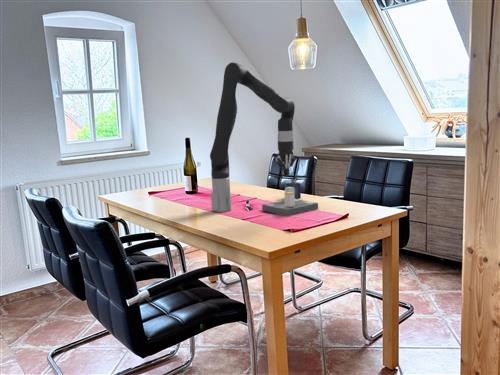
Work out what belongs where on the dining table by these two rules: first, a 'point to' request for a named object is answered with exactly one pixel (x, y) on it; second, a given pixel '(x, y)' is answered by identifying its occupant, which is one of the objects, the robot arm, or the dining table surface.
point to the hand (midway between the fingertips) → (286, 175)
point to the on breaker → (289, 190)
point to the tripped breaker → (289, 199)
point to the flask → (296, 188)
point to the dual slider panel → (285, 210)
